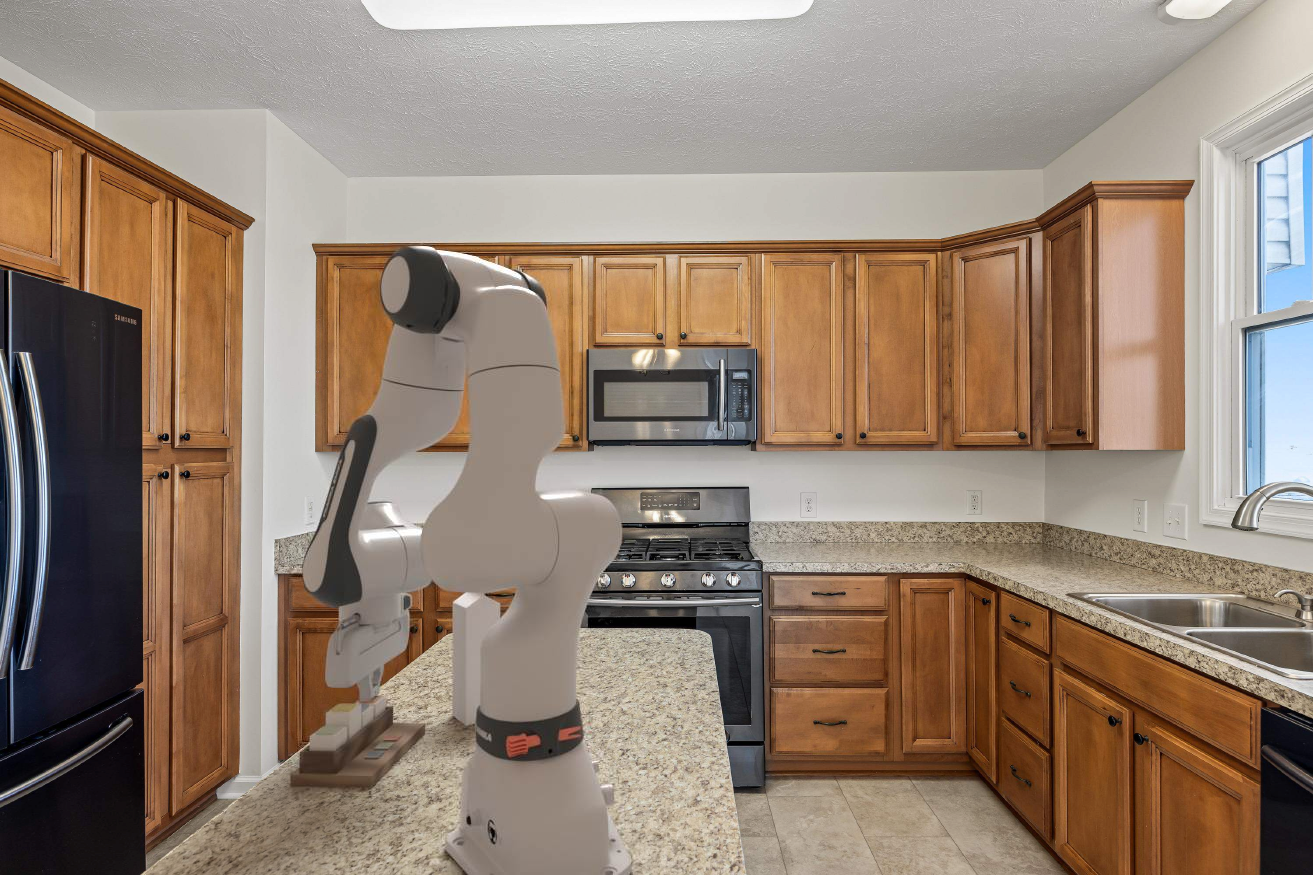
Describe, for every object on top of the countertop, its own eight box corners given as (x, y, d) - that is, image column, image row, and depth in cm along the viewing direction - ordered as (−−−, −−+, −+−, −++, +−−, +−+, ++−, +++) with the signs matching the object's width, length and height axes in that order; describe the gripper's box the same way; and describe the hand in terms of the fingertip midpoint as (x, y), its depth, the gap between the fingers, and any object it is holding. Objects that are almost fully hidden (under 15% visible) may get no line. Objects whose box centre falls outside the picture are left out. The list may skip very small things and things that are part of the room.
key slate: (362, 741, 100) (362, 712, 100) (339, 740, 100) (339, 711, 100) (373, 731, 104) (373, 703, 104) (351, 731, 104) (351, 703, 104)
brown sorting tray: (372, 787, 91) (372, 754, 91) (290, 785, 91) (290, 753, 91) (425, 732, 109) (425, 705, 109) (356, 731, 109) (356, 704, 109)
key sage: (334, 765, 92) (334, 734, 92) (309, 764, 92) (309, 733, 93) (346, 754, 96) (347, 724, 96) (322, 754, 96) (323, 724, 96)
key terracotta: (375, 729, 104) (375, 702, 104) (353, 729, 104) (353, 701, 105) (385, 721, 108) (385, 694, 108) (364, 720, 108) (364, 694, 108)
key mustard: (349, 740, 96) (349, 710, 96) (325, 740, 96) (325, 710, 97) (361, 731, 100) (361, 702, 100) (338, 730, 100) (338, 701, 100)
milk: (465, 726, 111) (465, 588, 112) (451, 715, 116) (451, 583, 116) (501, 717, 115) (500, 583, 115) (486, 707, 120) (485, 578, 120)
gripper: (357, 623, 96) (356, 724, 96) (416, 594, 116) (416, 677, 116) (313, 623, 96) (312, 723, 96) (379, 593, 117) (379, 676, 116)
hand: (369, 698), depth 106 cm, fingers closed, pressing on key terracotta
